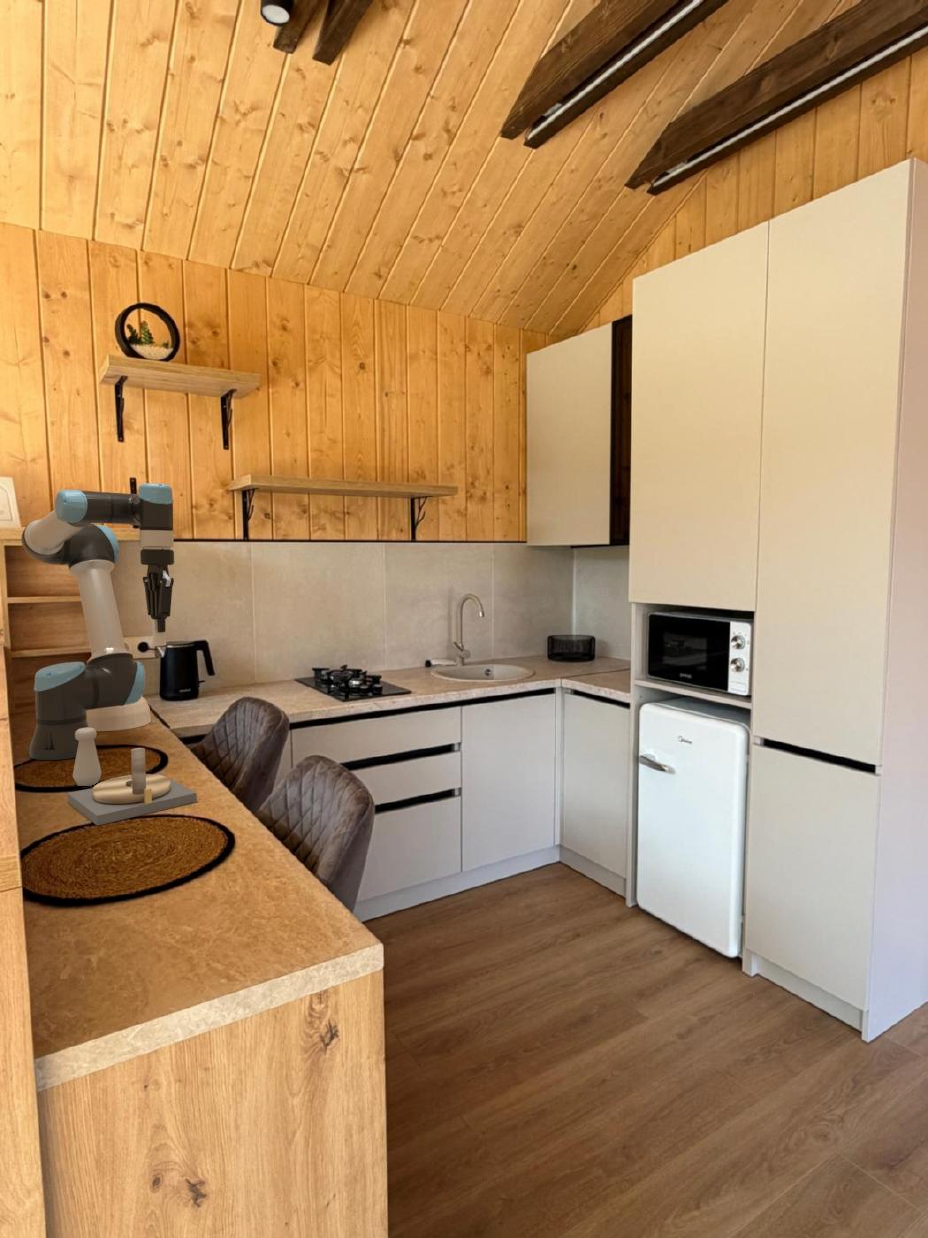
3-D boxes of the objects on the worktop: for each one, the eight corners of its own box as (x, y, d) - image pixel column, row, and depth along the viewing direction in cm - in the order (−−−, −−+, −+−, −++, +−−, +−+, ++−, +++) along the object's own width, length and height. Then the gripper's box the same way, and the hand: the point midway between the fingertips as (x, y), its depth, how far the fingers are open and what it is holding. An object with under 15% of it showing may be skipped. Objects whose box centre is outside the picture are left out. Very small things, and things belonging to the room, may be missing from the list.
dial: (86, 789, 155) (84, 741, 154) (159, 776, 164) (158, 731, 163) (101, 809, 143) (99, 757, 142) (179, 794, 153) (178, 745, 152)
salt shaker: (89, 789, 162) (87, 732, 161) (67, 787, 163) (65, 731, 162) (107, 781, 168) (105, 726, 167) (85, 779, 169) (83, 725, 168)
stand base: (67, 802, 153) (67, 779, 153) (162, 782, 168) (161, 761, 167) (97, 825, 141) (96, 800, 140) (196, 801, 155) (196, 779, 154)
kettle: (149, 714, 238) (147, 659, 236) (153, 728, 219) (152, 669, 218) (79, 719, 229) (77, 663, 227) (78, 734, 210) (76, 673, 209)
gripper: (184, 548, 173) (186, 646, 175) (161, 548, 182) (164, 641, 184) (152, 548, 167) (154, 649, 170) (130, 548, 177) (133, 644, 179)
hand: (159, 645), depth 177 cm, fingers closed
